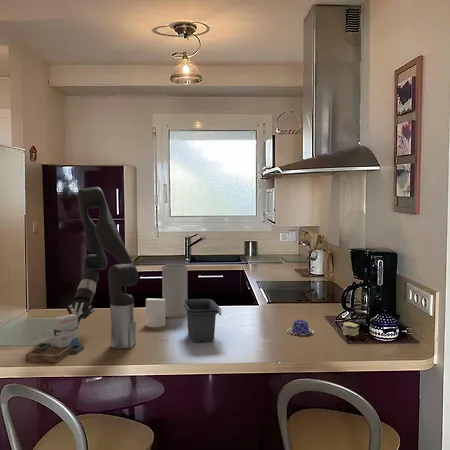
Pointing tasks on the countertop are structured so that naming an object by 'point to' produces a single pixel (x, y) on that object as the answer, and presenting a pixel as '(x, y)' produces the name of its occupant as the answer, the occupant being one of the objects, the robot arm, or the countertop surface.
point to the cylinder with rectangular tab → (155, 312)
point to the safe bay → (45, 356)
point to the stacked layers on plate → (350, 329)
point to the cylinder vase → (174, 289)
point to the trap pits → (73, 348)
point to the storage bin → (201, 318)
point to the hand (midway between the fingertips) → (74, 326)
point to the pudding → (300, 327)
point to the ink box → (65, 330)
